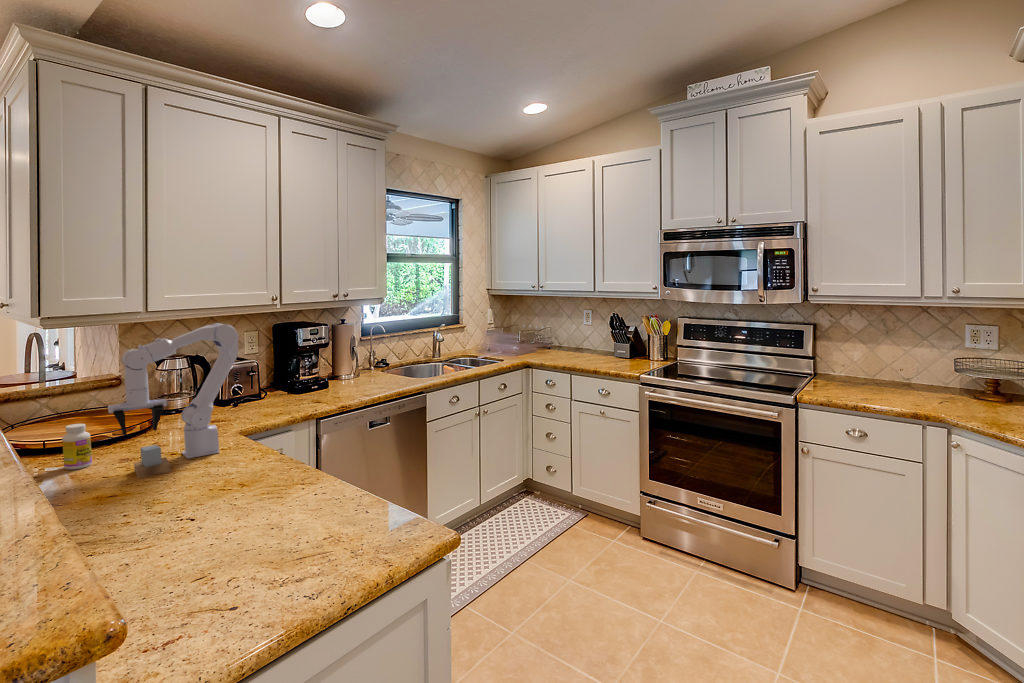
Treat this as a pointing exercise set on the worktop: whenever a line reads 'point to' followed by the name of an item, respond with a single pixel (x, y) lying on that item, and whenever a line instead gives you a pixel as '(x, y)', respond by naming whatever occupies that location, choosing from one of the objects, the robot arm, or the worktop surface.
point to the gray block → (151, 455)
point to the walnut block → (152, 469)
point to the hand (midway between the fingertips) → (139, 432)
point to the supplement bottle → (76, 447)
